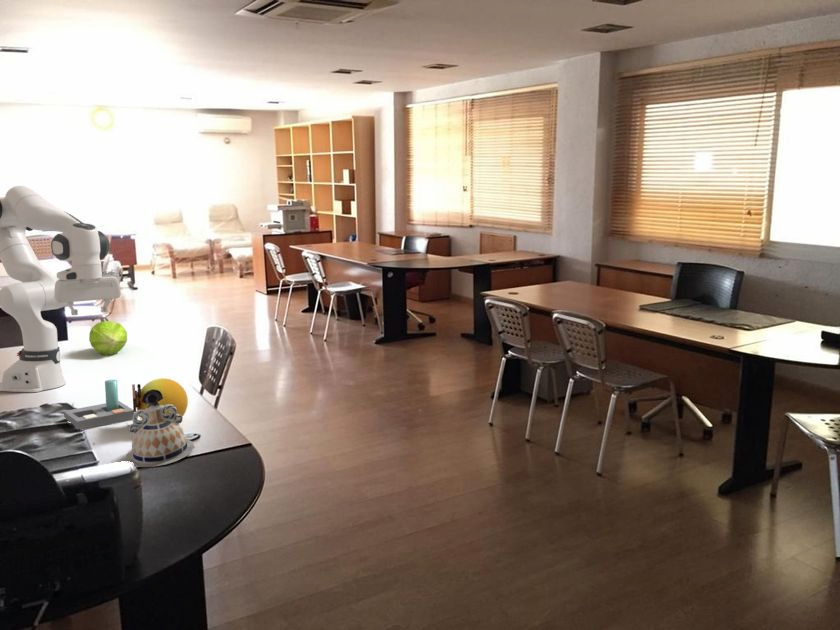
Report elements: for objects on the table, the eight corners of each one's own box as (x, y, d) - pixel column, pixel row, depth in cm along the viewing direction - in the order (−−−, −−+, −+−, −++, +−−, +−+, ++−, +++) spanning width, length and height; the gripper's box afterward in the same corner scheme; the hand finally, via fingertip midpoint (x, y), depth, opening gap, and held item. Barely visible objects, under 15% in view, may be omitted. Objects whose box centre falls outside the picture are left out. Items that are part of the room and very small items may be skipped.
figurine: (125, 473, 177) (117, 401, 174) (124, 451, 193) (117, 385, 190) (197, 460, 184) (191, 390, 181) (191, 440, 200) (184, 376, 197)
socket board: (64, 420, 214) (63, 410, 213) (119, 409, 226) (118, 400, 225) (77, 431, 205) (77, 420, 204) (134, 419, 216) (134, 409, 216)
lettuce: (134, 353, 298) (96, 362, 290) (125, 343, 317) (89, 351, 309) (128, 322, 294) (89, 329, 286) (119, 313, 313) (82, 320, 305)
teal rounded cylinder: (105, 418, 216) (103, 382, 214) (109, 415, 220) (106, 379, 218) (117, 418, 217) (115, 382, 215) (120, 415, 220) (118, 379, 218)
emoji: (134, 420, 215) (131, 375, 213) (186, 415, 221) (184, 371, 219) (134, 437, 201) (132, 388, 198) (190, 431, 207) (188, 383, 204)
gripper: (115, 269, 234) (117, 309, 237) (51, 273, 220) (54, 315, 223) (122, 271, 230) (124, 311, 232) (57, 275, 216) (60, 318, 218)
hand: (89, 313), depth 227 cm, fingers open, 8 cm apart
